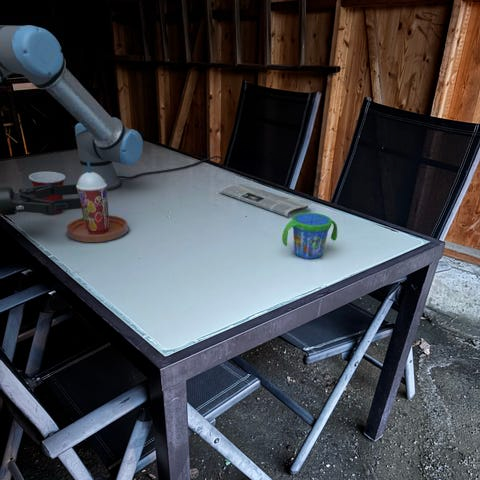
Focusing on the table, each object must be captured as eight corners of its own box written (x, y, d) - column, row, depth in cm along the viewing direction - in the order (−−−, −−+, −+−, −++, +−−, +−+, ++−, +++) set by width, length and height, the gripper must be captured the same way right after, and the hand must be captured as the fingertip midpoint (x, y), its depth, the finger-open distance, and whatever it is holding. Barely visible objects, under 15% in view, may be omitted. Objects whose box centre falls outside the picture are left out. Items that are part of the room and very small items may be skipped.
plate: (102, 218, 152) (101, 211, 151) (139, 230, 143) (139, 223, 142) (56, 233, 140) (54, 226, 139) (93, 248, 131) (92, 240, 130)
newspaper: (219, 193, 176) (219, 184, 174) (244, 187, 183) (244, 178, 182) (290, 219, 154) (291, 208, 152) (314, 211, 162) (315, 200, 160)
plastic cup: (60, 219, 150) (53, 181, 144) (29, 216, 152) (21, 178, 146) (77, 208, 159) (71, 172, 153) (47, 205, 161) (40, 169, 155)
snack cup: (327, 244, 137) (331, 210, 131) (342, 259, 128) (347, 223, 123) (275, 248, 133) (277, 213, 128) (287, 264, 125) (289, 227, 119)
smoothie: (118, 228, 143) (110, 160, 133) (100, 238, 137) (90, 167, 126) (96, 224, 146) (86, 157, 136) (77, 233, 140) (65, 163, 129)
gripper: (6, 201, 141) (80, 195, 147) (-3, 231, 121) (83, 223, 127) (0, 175, 137) (76, 171, 143) (-11, 202, 117) (79, 195, 123)
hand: (80, 195), depth 135 cm, fingers open, 13 cm apart
